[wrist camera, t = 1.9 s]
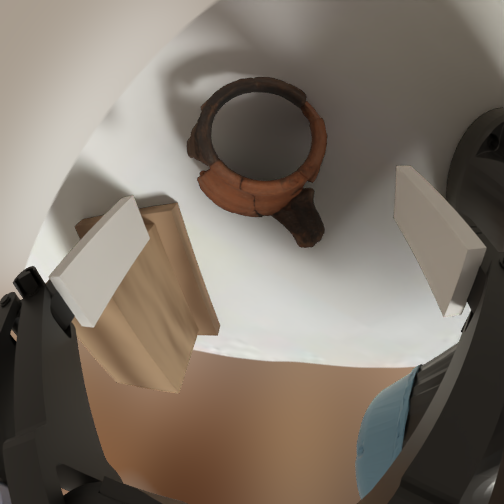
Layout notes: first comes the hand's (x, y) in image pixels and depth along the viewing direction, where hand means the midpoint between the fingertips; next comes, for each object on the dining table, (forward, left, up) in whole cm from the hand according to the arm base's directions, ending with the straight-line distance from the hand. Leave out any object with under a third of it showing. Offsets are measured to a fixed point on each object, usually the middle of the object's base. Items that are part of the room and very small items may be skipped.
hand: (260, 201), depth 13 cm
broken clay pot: (0, 0, -9) cm, 9 cm away
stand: (+15, +11, -9) cm, 21 cm away
